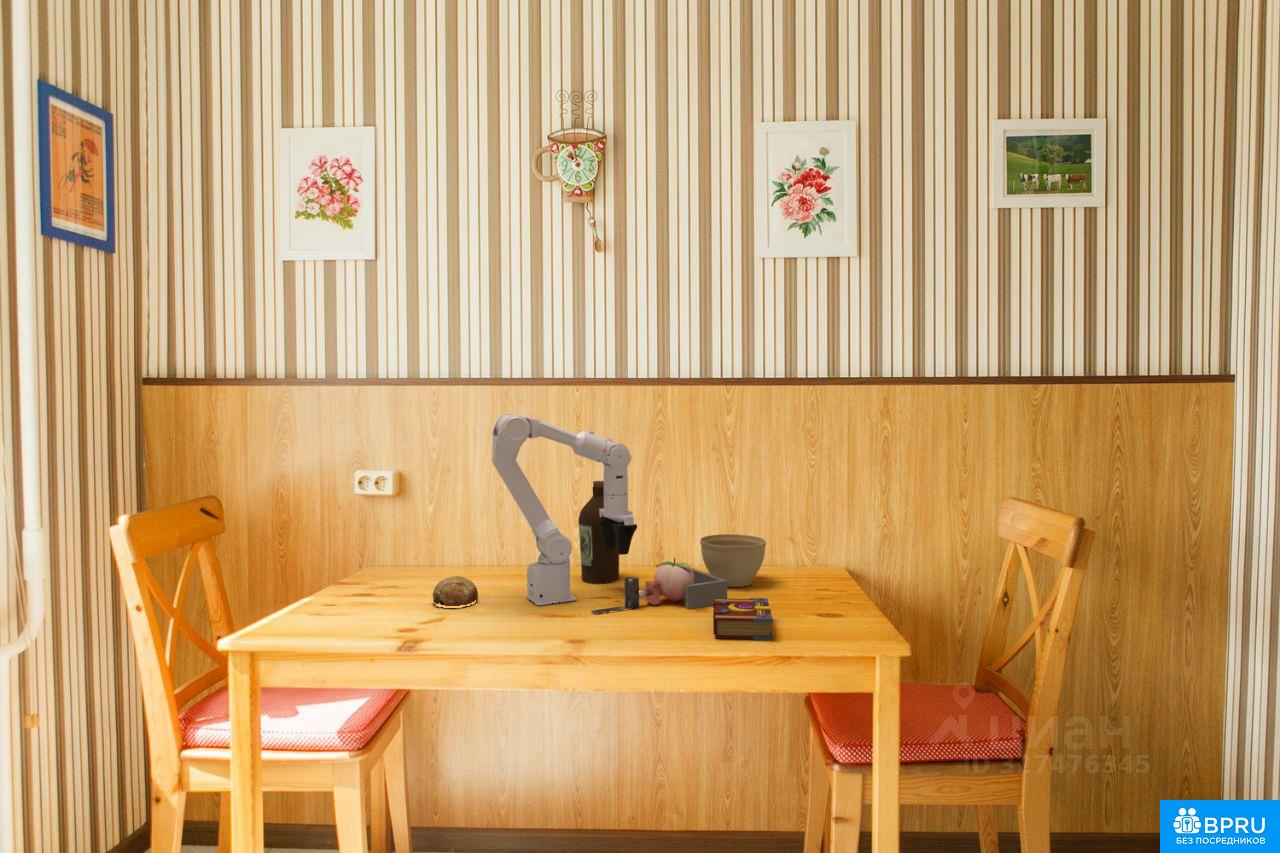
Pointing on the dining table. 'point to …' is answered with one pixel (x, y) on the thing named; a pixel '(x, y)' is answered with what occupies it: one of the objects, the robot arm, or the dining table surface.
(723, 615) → the decorative book
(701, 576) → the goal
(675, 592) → the decorative fruit
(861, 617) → the dining table surface
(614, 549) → the olive oil
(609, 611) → the rail strip
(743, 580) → the planter bowl
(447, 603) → the bread roll
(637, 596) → the kicker rod
